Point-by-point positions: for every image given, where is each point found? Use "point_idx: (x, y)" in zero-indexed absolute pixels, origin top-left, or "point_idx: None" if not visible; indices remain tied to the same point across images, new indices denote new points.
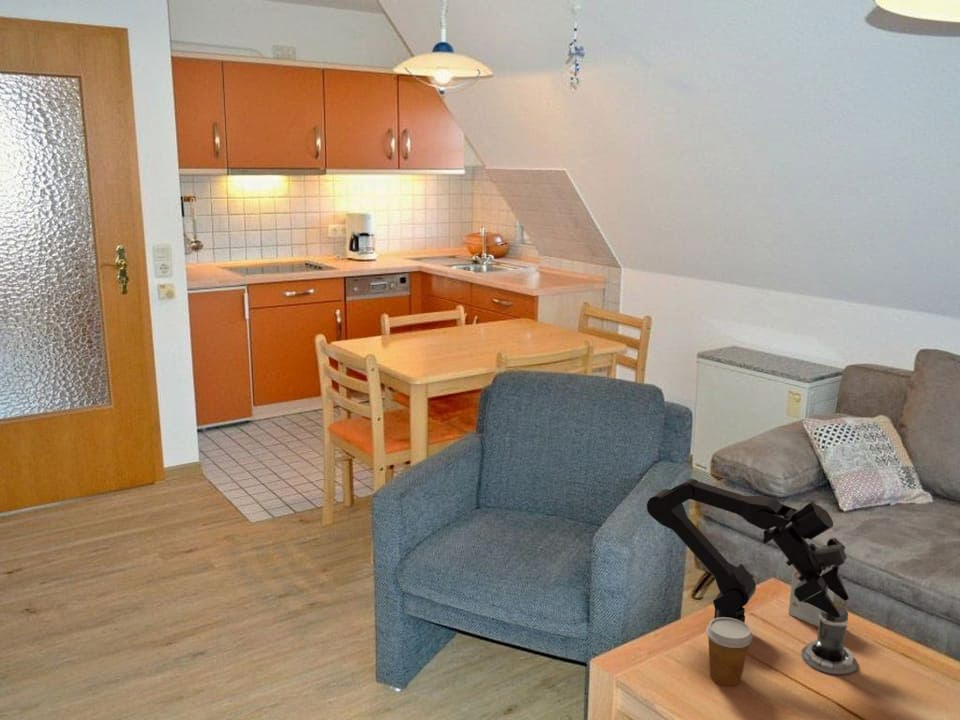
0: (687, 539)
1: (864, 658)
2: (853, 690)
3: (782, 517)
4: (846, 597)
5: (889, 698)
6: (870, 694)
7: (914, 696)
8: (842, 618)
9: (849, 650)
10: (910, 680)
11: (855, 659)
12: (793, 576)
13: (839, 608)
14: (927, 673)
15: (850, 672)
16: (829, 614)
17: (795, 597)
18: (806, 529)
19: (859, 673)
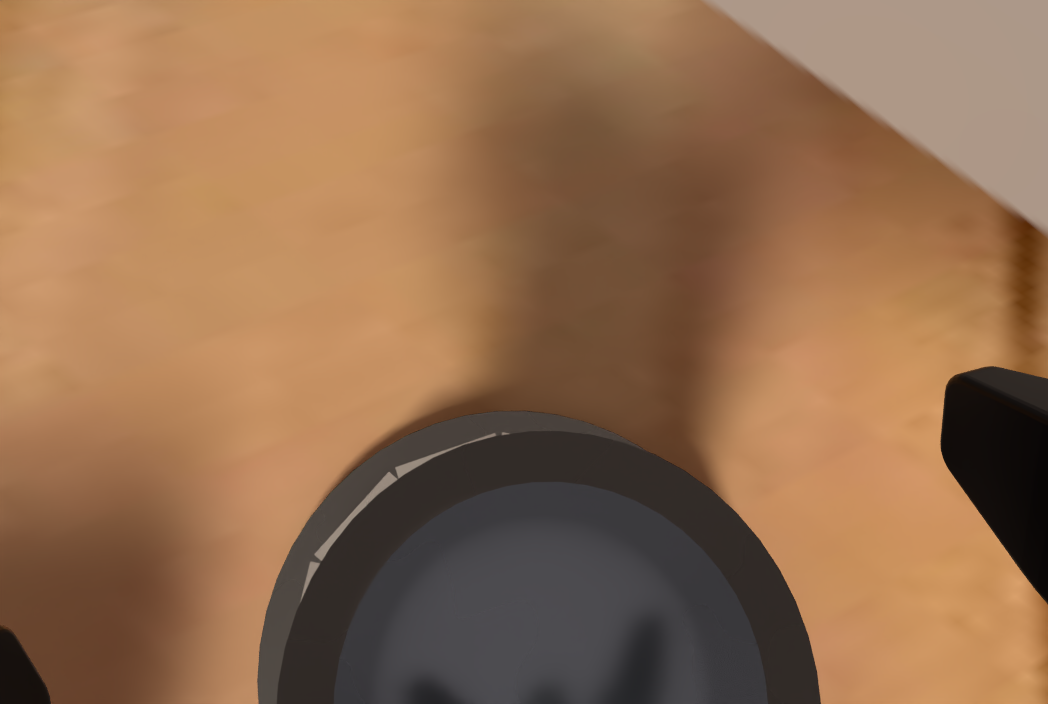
0: None
1: (232, 453)
2: (767, 308)
3: None
4: (2, 678)
5: (642, 108)
6: (708, 208)
7: (478, 15)
8: (663, 461)
9: (327, 540)
10: (291, 97)
11: (350, 477)
12: None
13: (383, 668)
14: (97, 54)
15: (574, 420)
16: (767, 697)
17: None
18: None
19: (501, 379)
